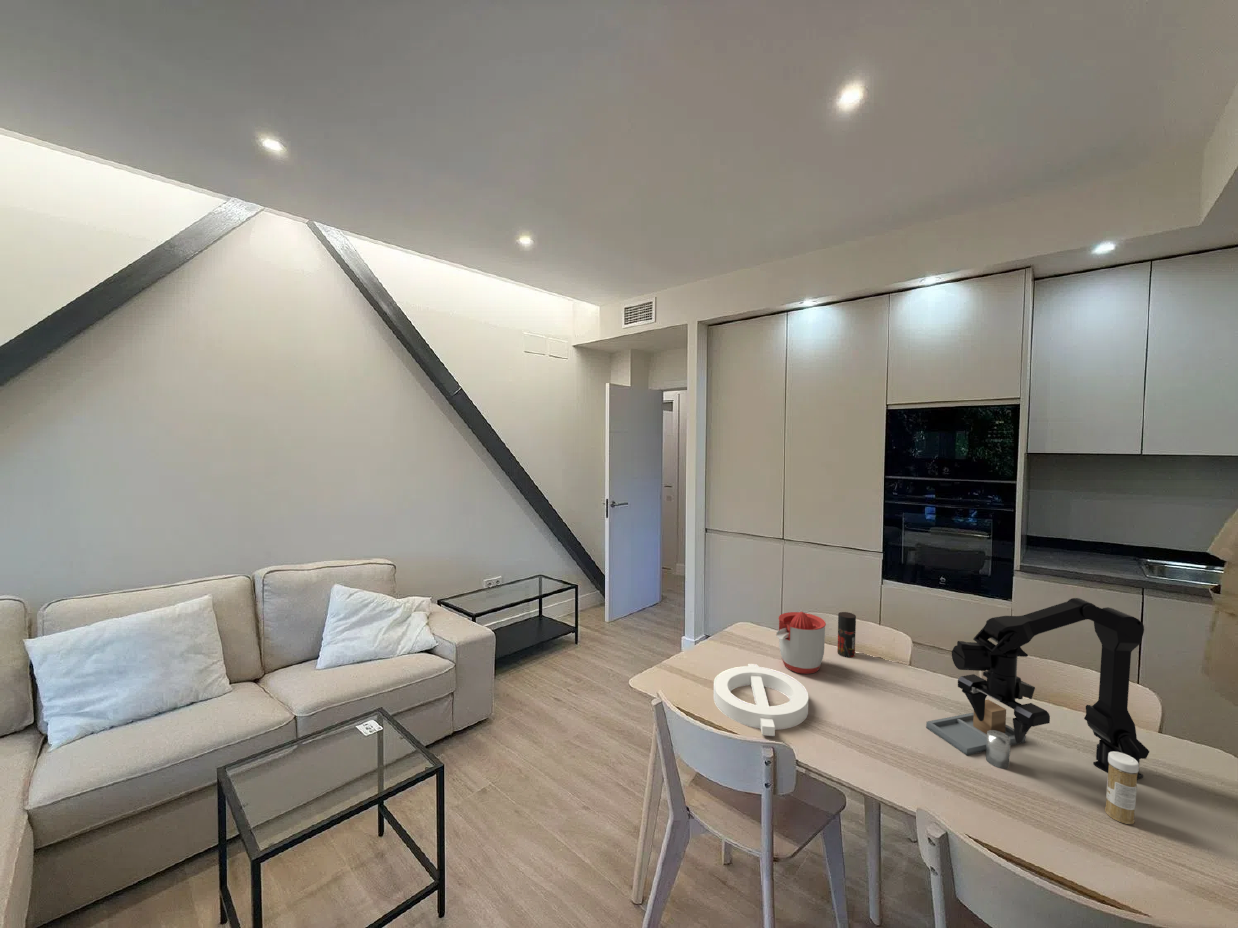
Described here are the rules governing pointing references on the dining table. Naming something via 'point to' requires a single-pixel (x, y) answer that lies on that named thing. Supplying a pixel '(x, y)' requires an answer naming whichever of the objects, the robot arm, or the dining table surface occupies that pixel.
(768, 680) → the ring with crossbar
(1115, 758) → the sprinkles bottle
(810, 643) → the citrus juicer
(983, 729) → the walnut block
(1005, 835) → the dining table surface
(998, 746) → the steel cylinder
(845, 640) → the deodorant
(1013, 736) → the tray
